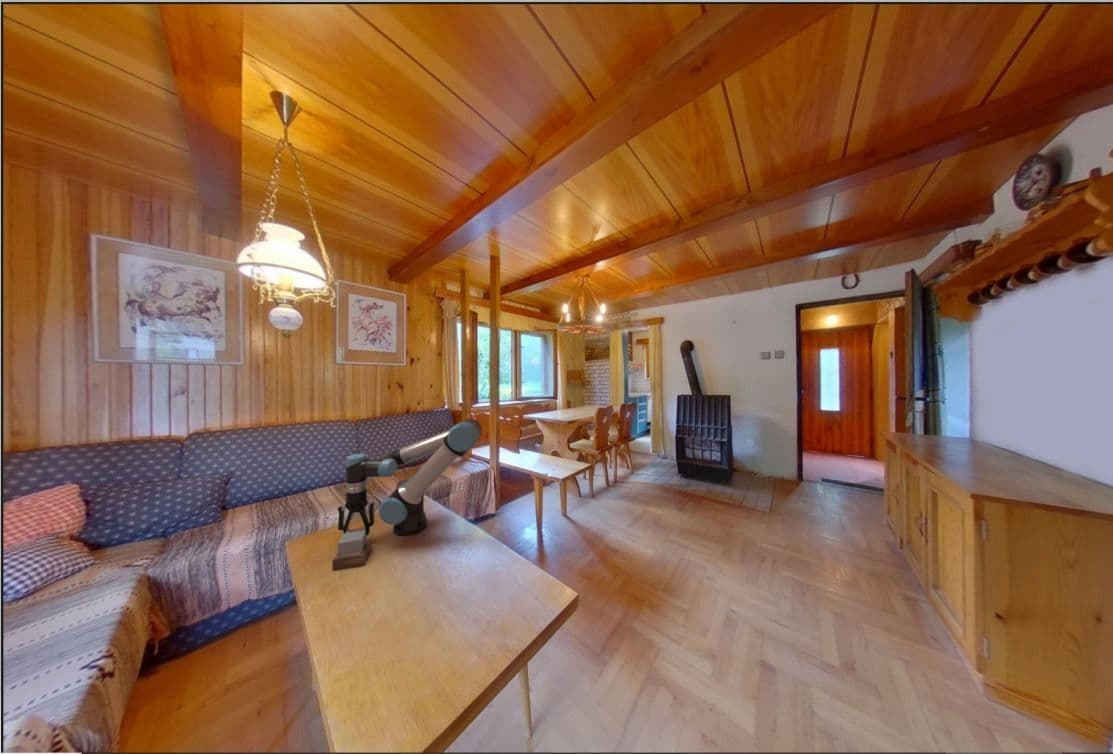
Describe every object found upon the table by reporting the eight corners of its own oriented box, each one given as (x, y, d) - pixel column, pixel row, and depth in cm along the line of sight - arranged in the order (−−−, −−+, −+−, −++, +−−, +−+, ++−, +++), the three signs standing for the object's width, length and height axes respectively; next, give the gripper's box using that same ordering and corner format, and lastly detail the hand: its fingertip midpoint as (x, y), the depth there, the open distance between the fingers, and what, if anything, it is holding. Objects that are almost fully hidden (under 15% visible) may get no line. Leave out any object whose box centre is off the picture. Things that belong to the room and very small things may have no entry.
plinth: (344, 552, 128) (344, 542, 128) (371, 548, 131) (371, 539, 131) (332, 570, 116) (332, 559, 116) (362, 565, 119) (362, 555, 119)
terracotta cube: (351, 541, 136) (351, 528, 136) (366, 539, 138) (366, 526, 138) (346, 549, 130) (346, 535, 130) (362, 547, 132) (362, 533, 132)
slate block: (342, 545, 125) (342, 533, 125) (365, 541, 129) (365, 529, 128) (337, 556, 118) (337, 543, 118) (362, 551, 121) (362, 539, 121)
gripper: (327, 496, 128) (327, 551, 128) (378, 491, 133) (378, 544, 133) (334, 489, 135) (335, 542, 135) (382, 485, 140) (383, 535, 141)
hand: (356, 543), depth 134 cm, fingers closed on terracotta cube, 6 cm apart
